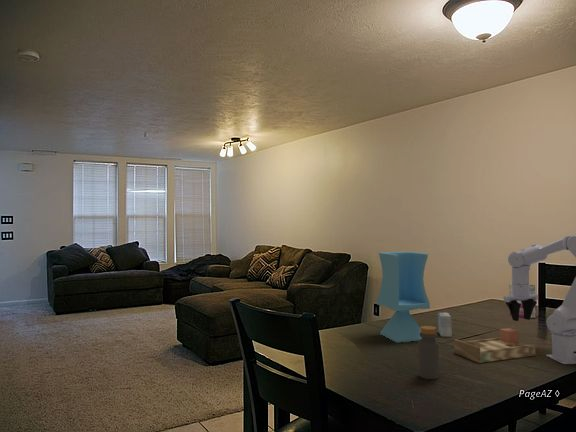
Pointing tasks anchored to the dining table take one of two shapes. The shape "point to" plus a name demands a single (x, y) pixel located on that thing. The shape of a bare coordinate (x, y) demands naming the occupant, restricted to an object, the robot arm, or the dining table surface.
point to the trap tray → (492, 349)
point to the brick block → (509, 335)
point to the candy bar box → (521, 313)
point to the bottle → (428, 353)
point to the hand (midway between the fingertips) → (521, 320)
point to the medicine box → (444, 324)
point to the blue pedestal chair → (402, 293)
